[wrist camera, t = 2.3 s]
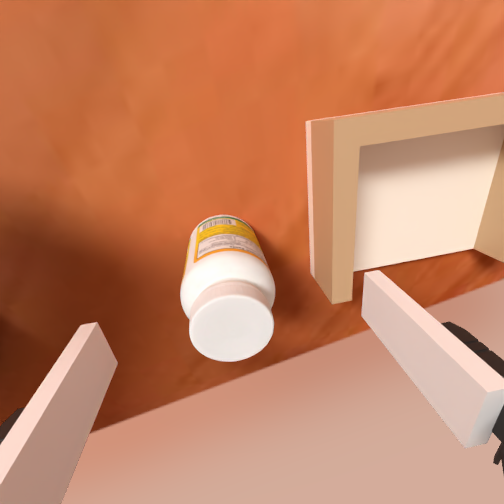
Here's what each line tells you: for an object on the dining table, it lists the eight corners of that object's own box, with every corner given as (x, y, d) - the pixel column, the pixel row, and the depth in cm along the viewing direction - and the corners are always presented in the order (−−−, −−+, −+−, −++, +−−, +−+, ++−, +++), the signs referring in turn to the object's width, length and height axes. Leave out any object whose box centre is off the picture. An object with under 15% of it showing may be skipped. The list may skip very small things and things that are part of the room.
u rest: (310, 273, 23) (331, 304, 19) (305, 121, 18) (334, 120, 14) (478, 241, 24) (532, 264, 20) (521, 89, 19) (605, 80, 15)
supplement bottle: (216, 198, 19) (221, 258, 11) (270, 239, 21) (312, 316, 13) (174, 253, 20) (149, 345, 12) (229, 286, 22) (242, 385, 14)
